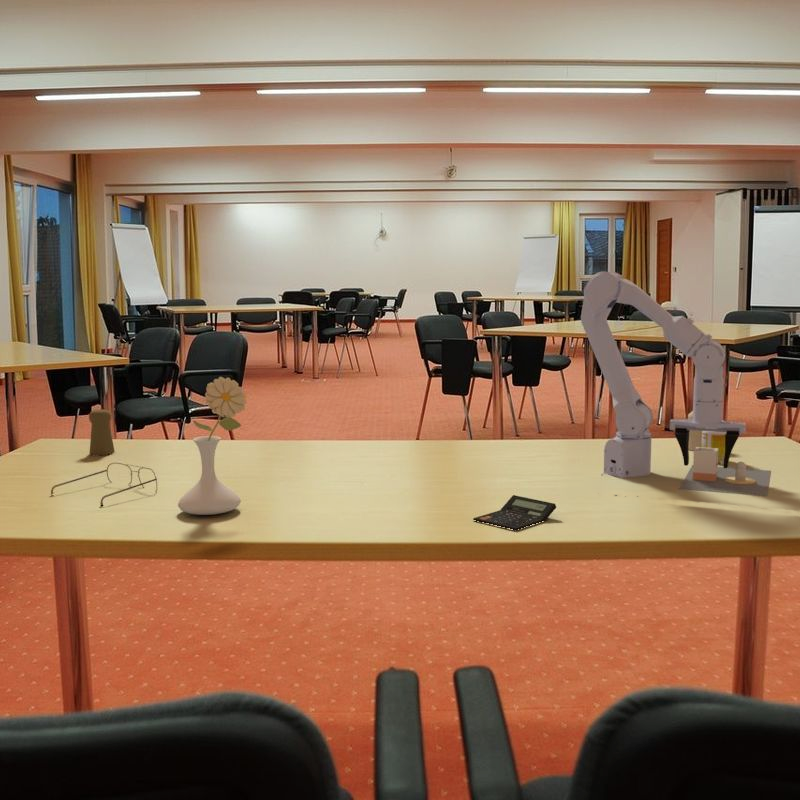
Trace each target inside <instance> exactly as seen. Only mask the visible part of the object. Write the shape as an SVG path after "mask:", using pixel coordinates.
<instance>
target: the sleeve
mask: <svg viewBox="0 0 800 800" xmlns="http://www.w3.org/2000/svg"><path fill="white" fill-rule="evenodd" d="M692 463H693V464H692V465H693V480H705V481H716V479H717V471H718V467H719V464H718V448H704V447H696V448H695V450H694V451H693V461H692Z"/></svg>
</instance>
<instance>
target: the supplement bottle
mask: <svg viewBox="0 0 800 800" xmlns="http://www.w3.org/2000/svg"><path fill="white" fill-rule="evenodd" d="M722 421H725V420H723V419H722ZM710 429H717V428H710ZM726 433H727V432H713V431H702V447H704V448H718V465H719V464H724V457H725V434H726Z"/></svg>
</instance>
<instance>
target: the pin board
mask: <svg viewBox="0 0 800 800" xmlns="http://www.w3.org/2000/svg"><path fill="white" fill-rule="evenodd" d="M771 474H772V470H767V469H766V470H765V469H753V468H747V465H746V463H745V462H744V461H738V462H736V464H735V467H728V468H724V466H718V471H717V479H716V481H705V480H693V464H692V465H691V466H690V469H689V471H688V472H687V474H686V475H685V478H684V479H683V481H682V483H681V484H680V486H679V488H678V489H679V490H685V491H686V490H687V491H701V492H709V493H711V492H712V493H723V494H733V495H746V496H758V497H760V496H761V497H768V494H769V489H770V488H769V487H770V481H771V480H770V479H771Z"/></svg>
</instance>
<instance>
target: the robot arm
mask: <svg viewBox="0 0 800 800" xmlns="http://www.w3.org/2000/svg"><path fill="white" fill-rule="evenodd" d="M616 303H618V304H623V305H629V306H632V307H634V308H635V309H636V310H638V311H639V312H640V313H642V314H643V315H644V316H646V317H647V318H648V319H650V320H651V321H652V322H654V323H655V324H657V325H658V326H659V327H660V328H662V332H663V333H662V334H663V335H662V336H663V338H664V339H665V340H666V341H668V342H669V343H670V344H671V345H673V346H674V347H675V348H676V349H677V350H678V351H680V352H681V353H682V354H683V355H685V356H686V357H687V358H692V363H693V364H694V366H695V373H694V375H695V376H694V378H693V396H692V397H693V398H692V399H693V400H692V401H693V402H692V411H693V420H688V419H670V421H669V431H674V436H675V438H676V440H677V443H678V445H679V448H680V450H681V454H682V459H683V466H689V464H690V454H689V453H690V450H689V432H690V430H695V431H713V432H727V433H726V434H725V457H724V463H723V467H724V468H729V462H730V457H731V454H732V451H733V448H734V446H735V445H736V444H737V440H738V438H739V436H740V434H741V435H742V434H745V433H746V425H747V424H746V422H738V421H737V422H736V421H727V420H726V421H725V420H724V421H722V420H723V409H724V408H723V405H724V383H725V381H724V377H723V376H724V371H725V370H724V366H723V364H724V361H725V359H726V351H725V348H724V347H723V346H722V344H721V343H720V342H719V341H717V340H715V339H712V338H713V335H711V334H710V333H707V334H706V333H705V332H704V331H702V330H701V329H700V328H699V327H697V326H696V325H695V324H693V323H695V321H694V319H692V317H689V316H688V317H685V316H684V315H679V316H673V315H672V314H671V313H670V312H669V311H667V309H665V308H664V307H663V306H662V305H660V304H659V303H658V301H656V300H655V299H653V298H652V297H651V296H650V295H649V294H648V293H647V292H645V291H644V290H643V289H642V288H641V287H639V286H638V285H636V284H635V283H634V282H632V281H631V280H629V279H626V278H624V277H623V276H622V275H621V274H620V273H618V272H615V271H599V272H596V273H595V274H593V275H591V277H590V279H589V280H588V282H587V284H586V285H585V287H584V289H583V301H582V308H581V314H580V321H581V324H582V327H583V330H584V332H585V334H586V337H587V338H588V342H589V344H590V346H591V349H592V351H593V353H594V356H595V358H596V361H597V363H598V366H599V368H600V371H601V373H602V375H603V378H604V380H605V383H606V384H607V387H608V390H609V392H610V394H611V397H612V405H613V406H612V407H613V410H614V412H615V427H616V429H617V431H616V432H615V433H616V436H615V437H614V438H613V437H612V438H611V439H609V440H607V441H606V442H605V445H604V449H603V450H604V451H603V453H604V454H603V473H601V474H600V475H601V476H602V477H603V476H604V475H605V474H606V475H609V476H614V477H617V478H621V479H629V478H633V477H634V478H635V477H646V476H650V475H651V471H652V470H651V468H652V467H651V466H652V463H651V462H652V437H653V436H652V435H653V434H652V433H651V432H650V430H649V426H651V424H652V422H653V420H654V419H653V418H654V417H653V412H652V409H651V407H650V406H648V404H646V403H645V402H644V400H643V399H642V397H641V395H640V393H639V391H638V390H637V389H636V388H635V385H634V383H633V381H632V379H631V375H630V374H629V372H628V369H627V367H626V364H625V361H624V359H623V357H622V355H621V352H620V349H619V348H618V345H617V343H616V340H615V337H614V335H613V333H612V331H611V328H610V325H609V323H608V321H607V319H608V317H609V315H610V313H611V311H612V309H613V307H614V306H615V304H616ZM697 427H701V428H697ZM710 428H717V429H710Z"/></svg>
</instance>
